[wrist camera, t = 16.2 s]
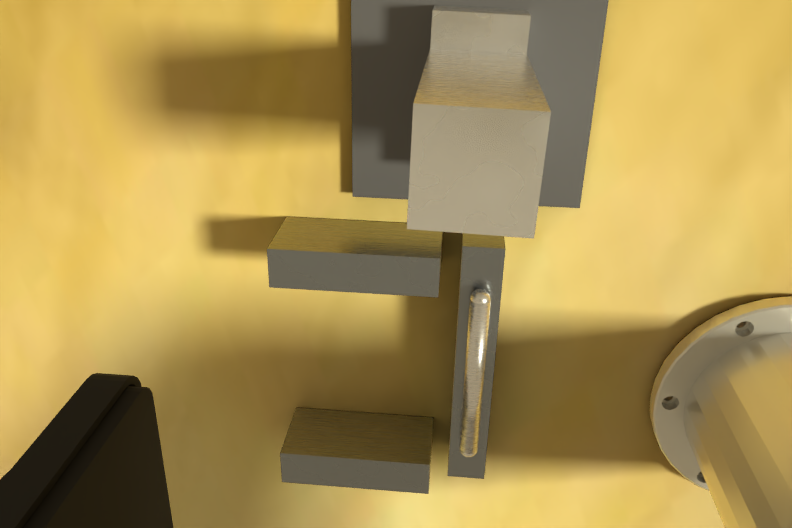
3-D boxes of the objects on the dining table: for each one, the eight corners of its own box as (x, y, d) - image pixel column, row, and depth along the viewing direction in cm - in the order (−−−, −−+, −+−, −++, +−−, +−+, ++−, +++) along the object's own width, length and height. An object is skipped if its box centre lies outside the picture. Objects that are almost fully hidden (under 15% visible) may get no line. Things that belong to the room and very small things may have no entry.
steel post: (527, 10, 31) (558, 59, 20) (509, 166, 34) (528, 281, 23) (434, 5, 31) (415, 50, 20) (425, 160, 34) (404, 271, 23)
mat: (611, -42, 30) (613, -41, 30) (577, 203, 35) (579, 207, 35) (352, -48, 31) (350, -48, 31) (354, 192, 36) (352, 196, 35)
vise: (503, 228, 36) (506, 262, 32) (483, 449, 42) (484, 498, 38) (286, 216, 37) (267, 248, 33) (297, 434, 43) (281, 481, 39)
